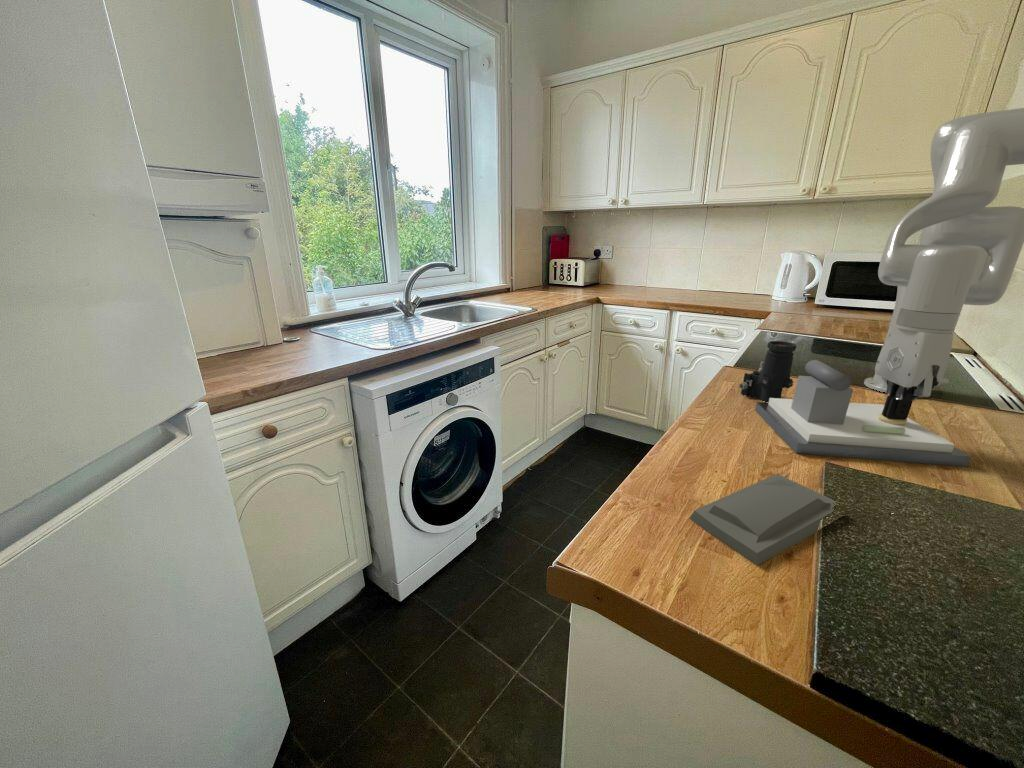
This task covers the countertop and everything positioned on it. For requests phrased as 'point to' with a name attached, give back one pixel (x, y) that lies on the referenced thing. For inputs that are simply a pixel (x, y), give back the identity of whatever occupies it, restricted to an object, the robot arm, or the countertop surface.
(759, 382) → the scope
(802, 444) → the leveling base
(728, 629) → the countertop surface
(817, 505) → the soap mold
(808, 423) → the leveling plate
